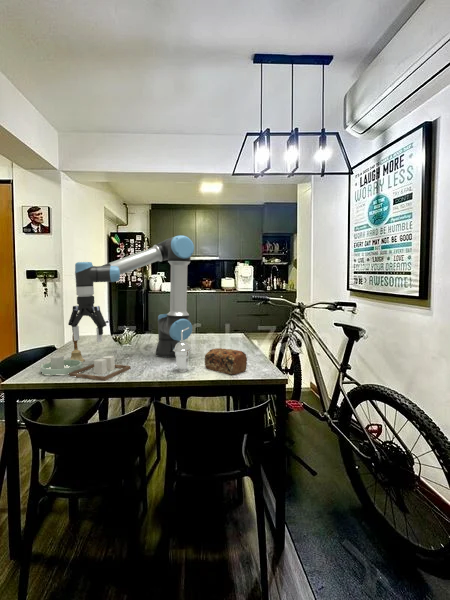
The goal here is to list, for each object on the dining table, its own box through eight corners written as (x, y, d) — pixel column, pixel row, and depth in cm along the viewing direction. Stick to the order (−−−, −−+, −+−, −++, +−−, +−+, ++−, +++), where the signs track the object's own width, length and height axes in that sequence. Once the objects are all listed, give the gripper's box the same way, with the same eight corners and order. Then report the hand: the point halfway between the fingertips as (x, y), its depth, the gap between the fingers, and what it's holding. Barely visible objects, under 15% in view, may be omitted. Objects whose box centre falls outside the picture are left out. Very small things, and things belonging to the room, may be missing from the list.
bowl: (89, 367, 176) (89, 361, 175) (62, 377, 159) (62, 371, 159) (61, 364, 181) (61, 358, 181) (32, 374, 165) (32, 367, 165)
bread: (247, 371, 166) (247, 350, 165) (232, 376, 159) (231, 354, 158) (219, 364, 179) (219, 344, 178) (203, 368, 172) (203, 348, 171)
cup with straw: (170, 369, 170) (169, 328, 168) (188, 366, 174) (187, 326, 173) (177, 374, 162) (176, 330, 161) (195, 371, 167) (194, 328, 165)
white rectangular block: (64, 368, 172) (63, 356, 172) (57, 370, 168) (57, 358, 168) (57, 367, 173) (57, 355, 173) (51, 369, 170) (50, 357, 169)
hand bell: (78, 363, 182) (77, 333, 181) (64, 363, 184) (62, 332, 183) (88, 359, 191) (86, 330, 189) (74, 359, 192) (72, 329, 191)
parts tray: (130, 368, 172) (130, 365, 172) (104, 380, 154) (104, 377, 154) (97, 365, 178) (97, 362, 178) (68, 376, 161) (68, 373, 161)
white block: (107, 371, 168) (106, 359, 167) (102, 374, 164) (101, 361, 163) (99, 371, 169) (98, 358, 168) (94, 373, 165) (94, 360, 164)
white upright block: (114, 368, 174) (114, 356, 173) (111, 370, 170) (110, 358, 169) (107, 368, 174) (106, 355, 174) (103, 370, 170) (102, 357, 170)
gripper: (112, 295, 164) (115, 340, 166) (70, 294, 173) (73, 338, 175) (101, 296, 157) (104, 344, 159) (58, 296, 166) (61, 341, 168)
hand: (88, 341), depth 167 cm, fingers open, 13 cm apart
